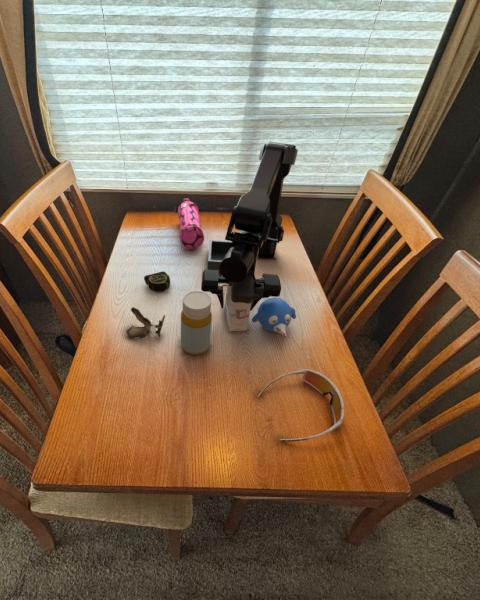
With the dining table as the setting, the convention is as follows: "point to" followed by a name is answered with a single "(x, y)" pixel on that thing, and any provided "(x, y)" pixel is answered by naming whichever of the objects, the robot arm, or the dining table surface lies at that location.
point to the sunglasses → (324, 388)
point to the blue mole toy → (275, 315)
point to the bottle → (196, 322)
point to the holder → (217, 253)
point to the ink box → (236, 313)
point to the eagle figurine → (148, 328)
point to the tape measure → (158, 281)
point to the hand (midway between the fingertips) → (236, 308)
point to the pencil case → (189, 225)
